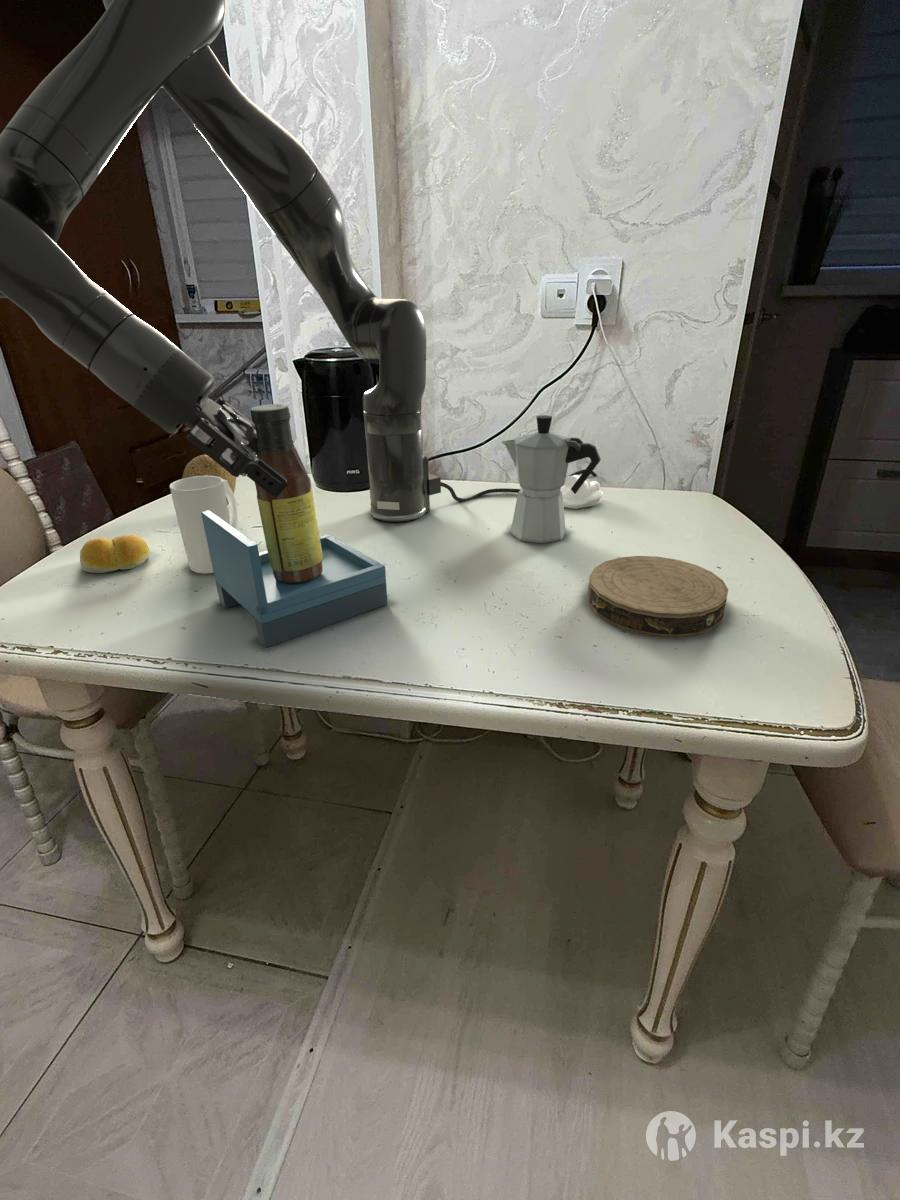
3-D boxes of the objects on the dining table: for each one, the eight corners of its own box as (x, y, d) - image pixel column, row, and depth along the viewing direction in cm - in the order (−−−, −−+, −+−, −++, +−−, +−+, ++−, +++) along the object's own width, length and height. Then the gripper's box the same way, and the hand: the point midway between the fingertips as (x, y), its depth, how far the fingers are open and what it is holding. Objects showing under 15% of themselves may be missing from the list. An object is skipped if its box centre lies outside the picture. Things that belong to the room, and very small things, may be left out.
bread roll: (154, 566, 89) (147, 540, 87) (83, 579, 85) (74, 552, 83) (149, 546, 95) (143, 522, 93) (83, 558, 91) (75, 532, 90)
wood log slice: (560, 599, 78) (562, 577, 76) (641, 566, 86) (644, 546, 85) (670, 653, 66) (674, 628, 65) (750, 608, 75) (755, 586, 73)
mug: (216, 577, 85) (198, 492, 79) (177, 571, 87) (157, 487, 81) (261, 550, 93) (248, 471, 88) (225, 545, 95) (210, 467, 90)
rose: (614, 474, 111) (590, 487, 104) (612, 498, 113) (588, 513, 106) (564, 465, 116) (538, 477, 109) (562, 488, 118) (536, 502, 111)
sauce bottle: (333, 567, 77) (315, 402, 68) (307, 589, 72) (284, 413, 63) (288, 561, 79) (264, 400, 70) (259, 582, 74) (229, 410, 65)
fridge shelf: (332, 568, 87) (323, 485, 81) (387, 604, 77) (381, 512, 72) (219, 602, 78) (200, 511, 73) (266, 648, 68) (248, 546, 63)
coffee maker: (490, 537, 96) (492, 418, 88) (507, 519, 104) (510, 407, 95) (587, 550, 91) (598, 425, 83) (597, 530, 99) (609, 413, 90)
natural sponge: (191, 524, 104) (178, 464, 99) (183, 509, 111) (170, 453, 106) (246, 514, 108) (236, 457, 103) (235, 500, 115) (225, 446, 110)
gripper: (160, 354, 56) (304, 471, 63) (188, 340, 69) (307, 440, 76) (112, 417, 58) (258, 524, 65) (149, 393, 70) (268, 485, 77)
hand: (284, 478), depth 70 cm, fingers open, 8 cm apart
